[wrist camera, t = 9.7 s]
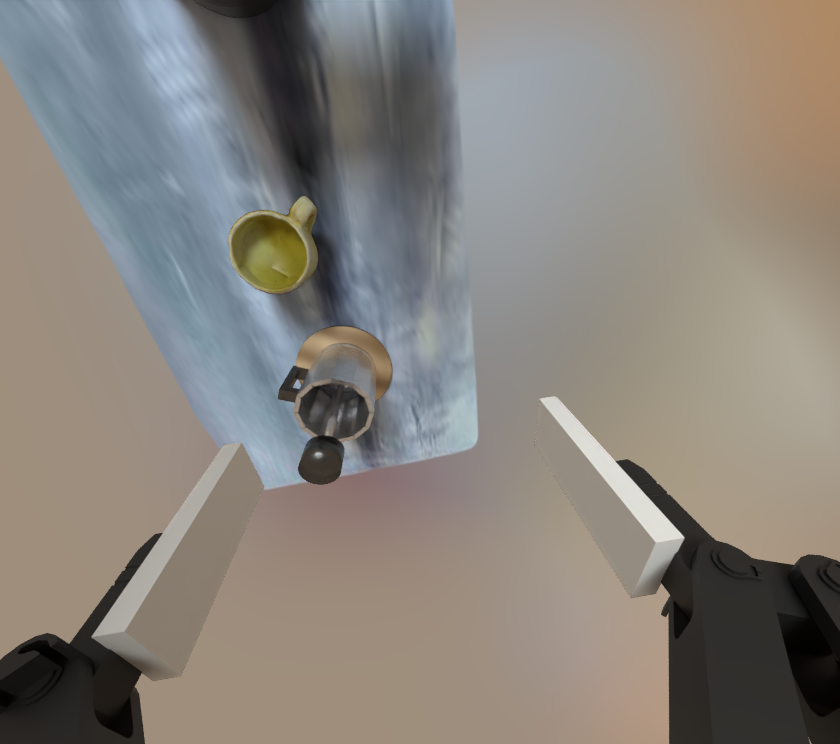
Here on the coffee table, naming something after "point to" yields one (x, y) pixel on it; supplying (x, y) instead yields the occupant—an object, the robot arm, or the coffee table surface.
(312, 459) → the plunger
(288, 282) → the mug
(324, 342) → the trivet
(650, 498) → the robot arm
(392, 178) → the coffee table surface
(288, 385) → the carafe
